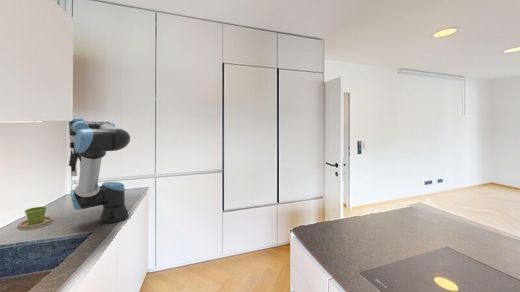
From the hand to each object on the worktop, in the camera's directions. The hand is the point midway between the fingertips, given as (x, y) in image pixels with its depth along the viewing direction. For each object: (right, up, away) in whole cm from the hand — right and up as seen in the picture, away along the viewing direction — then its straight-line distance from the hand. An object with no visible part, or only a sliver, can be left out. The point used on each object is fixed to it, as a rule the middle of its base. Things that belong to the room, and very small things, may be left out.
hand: (78, 174), depth 147 cm
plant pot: (-12, -28, -16) cm, 34 cm away
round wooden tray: (-12, -28, -16) cm, 34 cm away
